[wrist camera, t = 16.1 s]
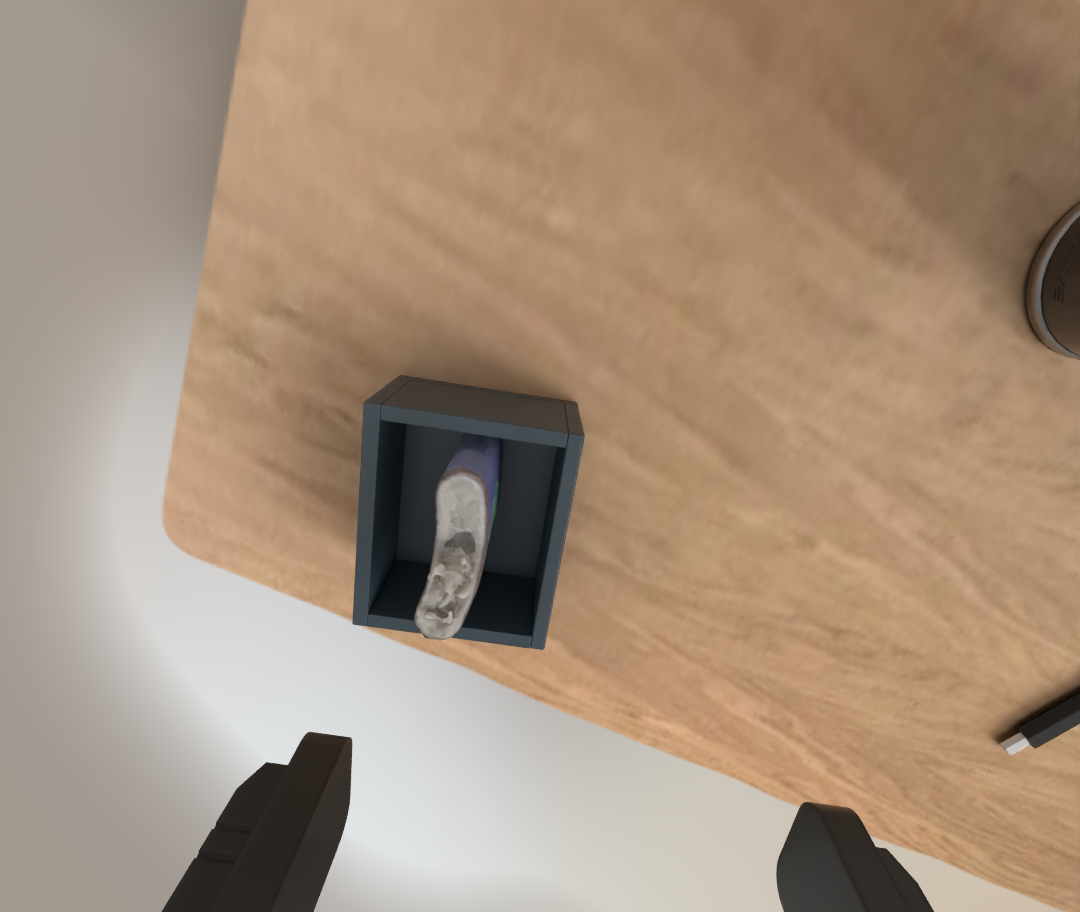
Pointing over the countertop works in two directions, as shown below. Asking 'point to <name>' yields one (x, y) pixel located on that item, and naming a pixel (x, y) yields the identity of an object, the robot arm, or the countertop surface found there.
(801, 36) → the countertop surface
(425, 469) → the box
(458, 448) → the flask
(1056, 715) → the usb flash drive
